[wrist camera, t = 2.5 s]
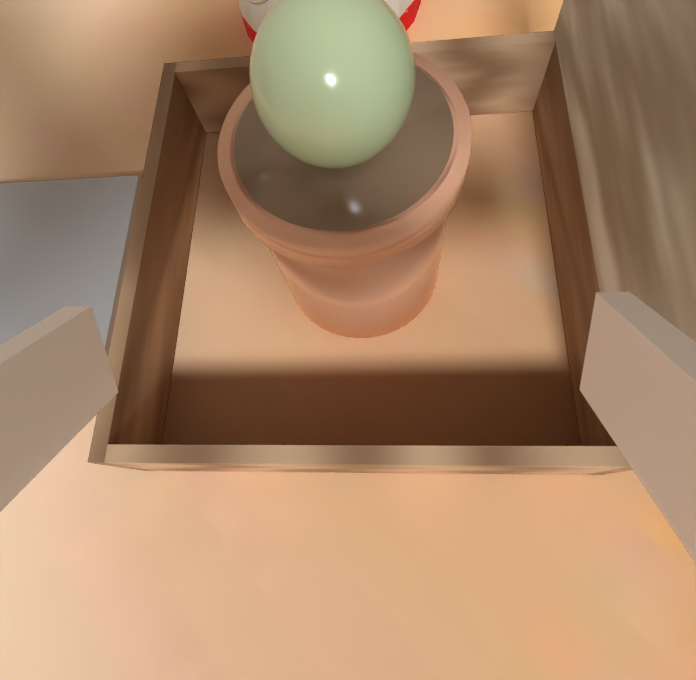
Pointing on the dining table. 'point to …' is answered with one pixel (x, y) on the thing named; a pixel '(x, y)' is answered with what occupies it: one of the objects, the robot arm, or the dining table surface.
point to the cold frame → (561, 201)
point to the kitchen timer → (258, 3)
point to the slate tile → (64, 249)
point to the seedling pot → (347, 161)
